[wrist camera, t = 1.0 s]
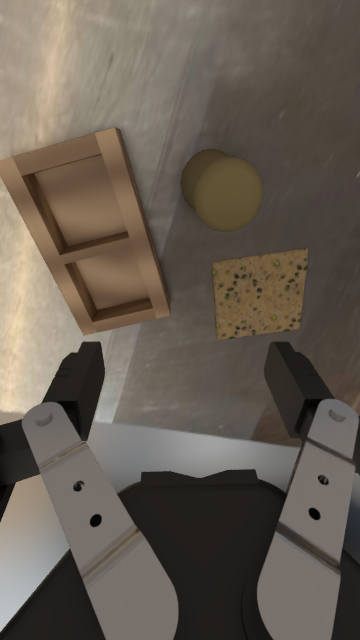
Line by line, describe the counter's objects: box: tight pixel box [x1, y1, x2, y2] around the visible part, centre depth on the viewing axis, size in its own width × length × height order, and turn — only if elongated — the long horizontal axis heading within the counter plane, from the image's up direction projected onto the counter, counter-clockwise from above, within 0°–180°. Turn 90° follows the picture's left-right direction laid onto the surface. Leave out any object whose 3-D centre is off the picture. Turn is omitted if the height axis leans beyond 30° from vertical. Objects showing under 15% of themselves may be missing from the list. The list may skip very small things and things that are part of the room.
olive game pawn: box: [181, 149, 263, 232], centre depth 24 cm, size 6×6×11 cm
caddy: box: [0, 127, 171, 336], centre depth 30 cm, size 19×11×4 cm, turn 13°
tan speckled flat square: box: [212, 248, 308, 340], centre depth 37 cm, size 12×12×1 cm
